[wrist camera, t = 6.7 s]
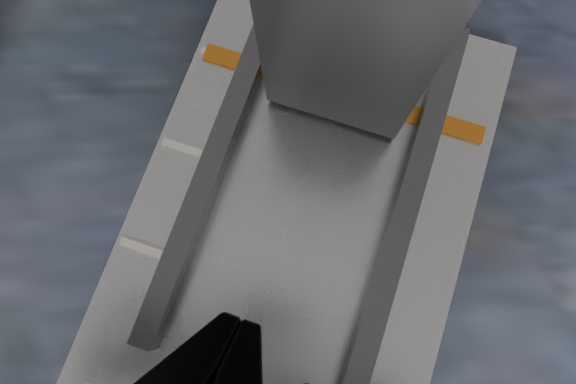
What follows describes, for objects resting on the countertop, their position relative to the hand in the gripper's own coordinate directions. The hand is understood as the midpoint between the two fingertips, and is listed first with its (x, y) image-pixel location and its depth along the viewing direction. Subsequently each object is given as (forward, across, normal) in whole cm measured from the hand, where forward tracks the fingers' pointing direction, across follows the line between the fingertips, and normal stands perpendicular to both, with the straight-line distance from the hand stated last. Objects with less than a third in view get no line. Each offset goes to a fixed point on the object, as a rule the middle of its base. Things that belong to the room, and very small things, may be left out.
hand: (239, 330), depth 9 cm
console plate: (+7, 0, +3) cm, 8 cm away
